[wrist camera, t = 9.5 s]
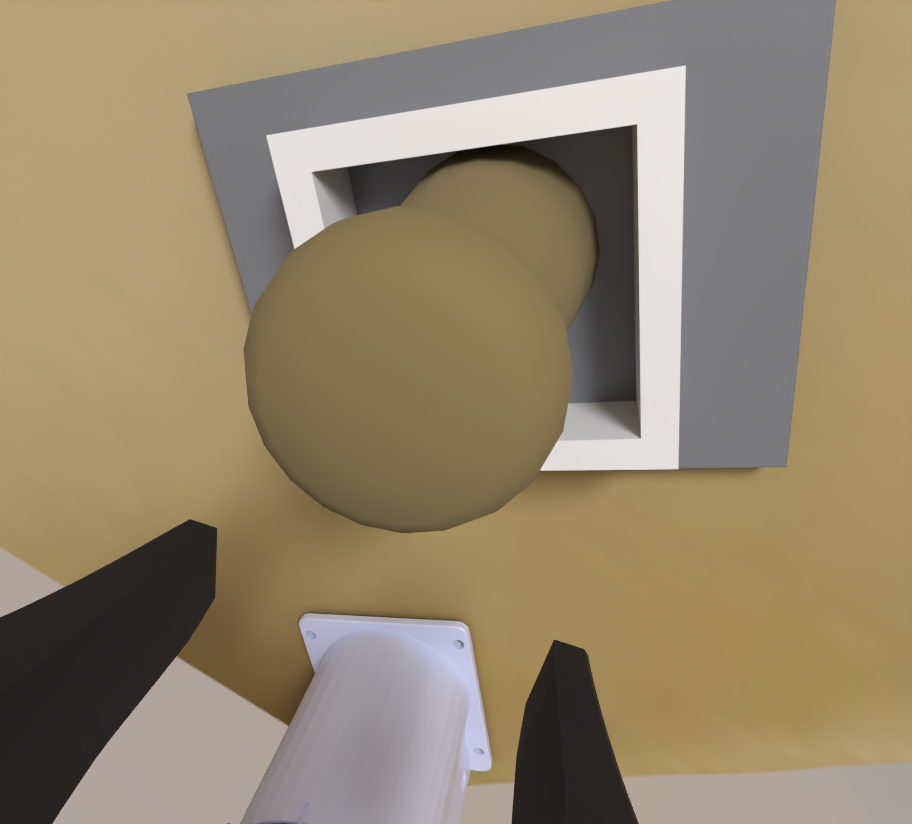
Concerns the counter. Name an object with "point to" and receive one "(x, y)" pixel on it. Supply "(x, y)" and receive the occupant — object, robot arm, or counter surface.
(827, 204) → the counter surface
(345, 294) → the cork
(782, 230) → the socket dock
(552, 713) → the robot arm
